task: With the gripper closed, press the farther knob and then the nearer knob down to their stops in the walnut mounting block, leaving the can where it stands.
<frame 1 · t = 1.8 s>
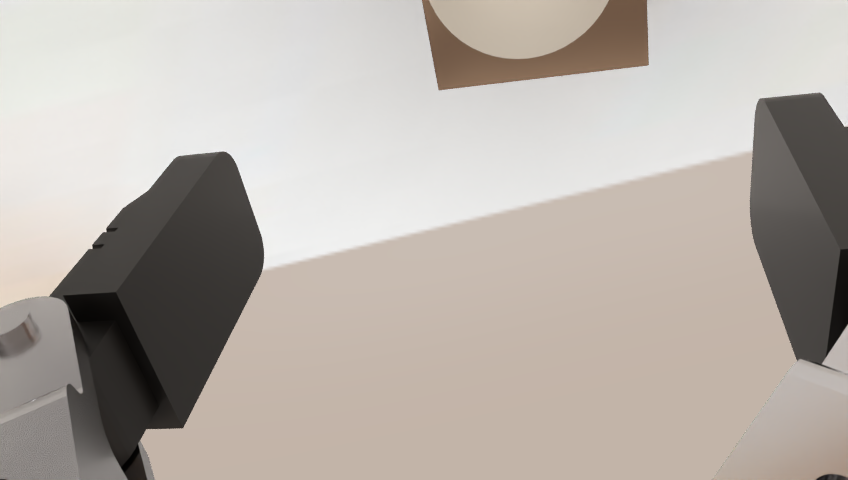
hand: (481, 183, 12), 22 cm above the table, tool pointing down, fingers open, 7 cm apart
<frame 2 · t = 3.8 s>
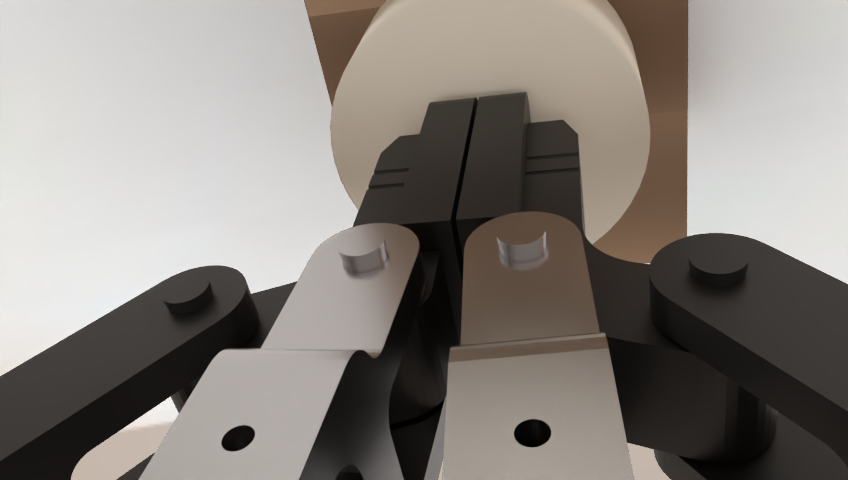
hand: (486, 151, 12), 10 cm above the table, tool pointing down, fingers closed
knob 1: (499, 57, 15), point 7 cm above the table, slide at 1.1 cm, touching gripper
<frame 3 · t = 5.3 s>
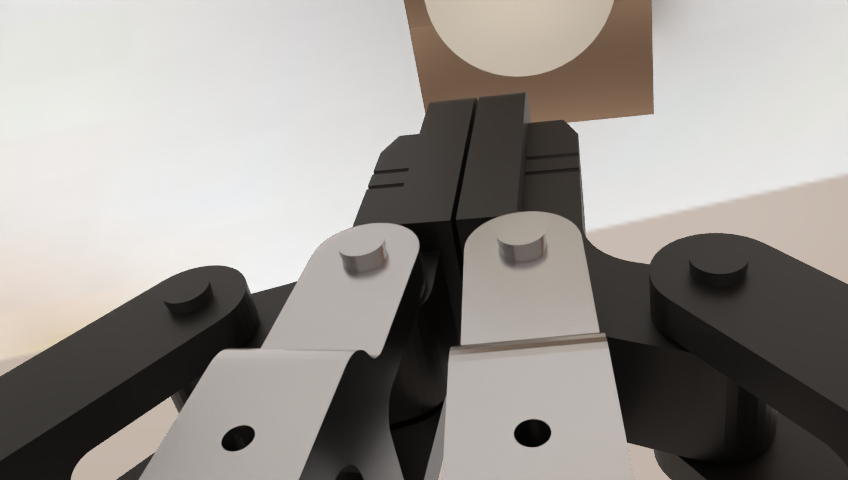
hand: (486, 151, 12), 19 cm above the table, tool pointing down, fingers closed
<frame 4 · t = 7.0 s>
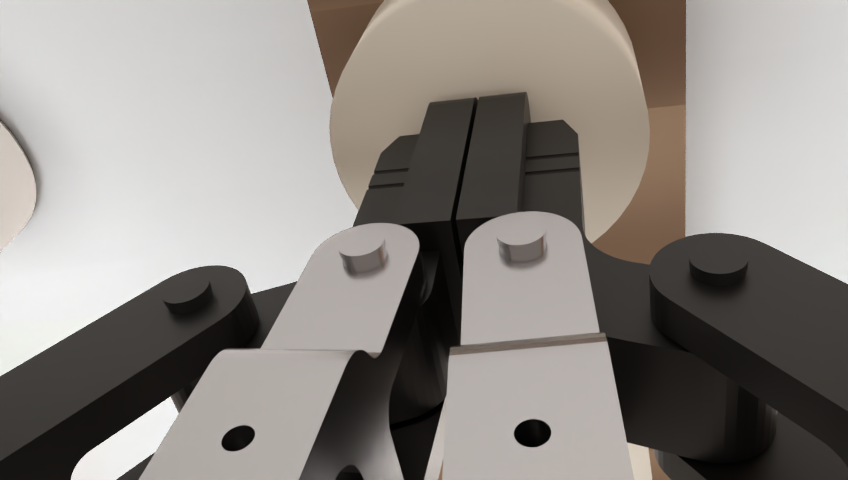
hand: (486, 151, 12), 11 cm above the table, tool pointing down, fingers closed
knob 2: (498, 56, 15), point 7 cm above the table, slide at 0.8 cm, touching gripper
mount: (532, 127, 24), on the table
knob 1: (546, 370, 22), point 5 cm above the table, slide at 2.5 cm
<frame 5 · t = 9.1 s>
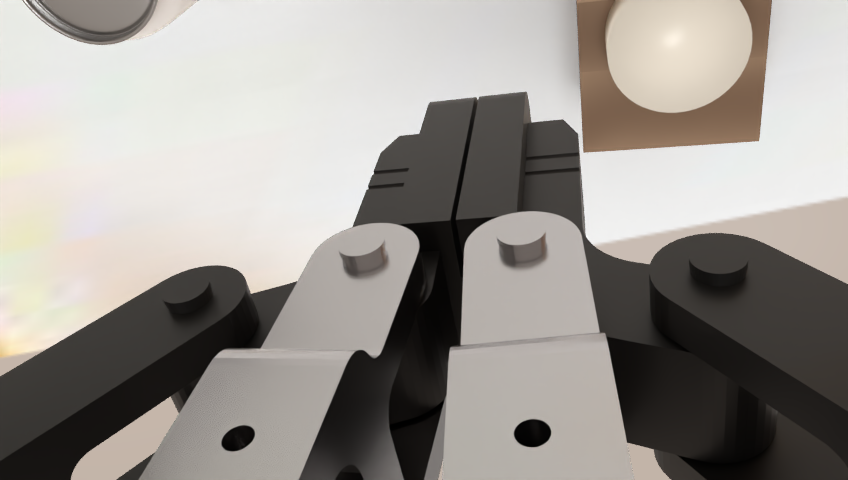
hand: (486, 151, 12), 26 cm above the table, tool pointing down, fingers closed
knob 1: (667, 15, 31), point 5 cm above the table, slide at 2.5 cm
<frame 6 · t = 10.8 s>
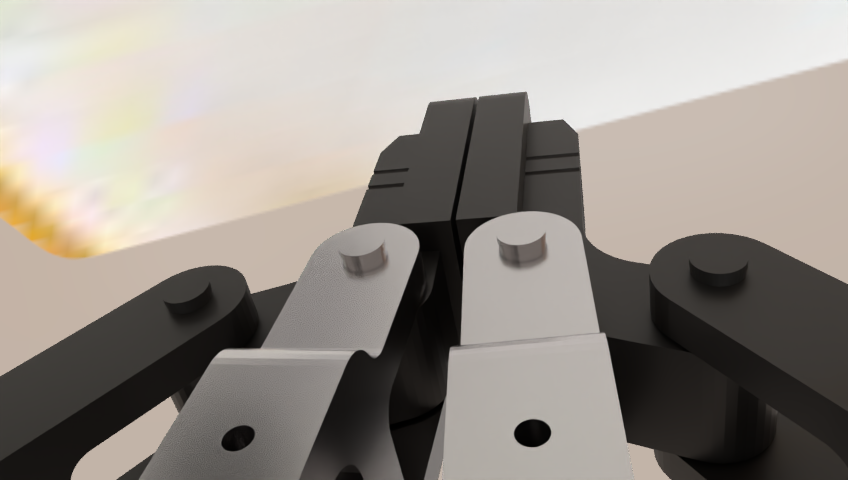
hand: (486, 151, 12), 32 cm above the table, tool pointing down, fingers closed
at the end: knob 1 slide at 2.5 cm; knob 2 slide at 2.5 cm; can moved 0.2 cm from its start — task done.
